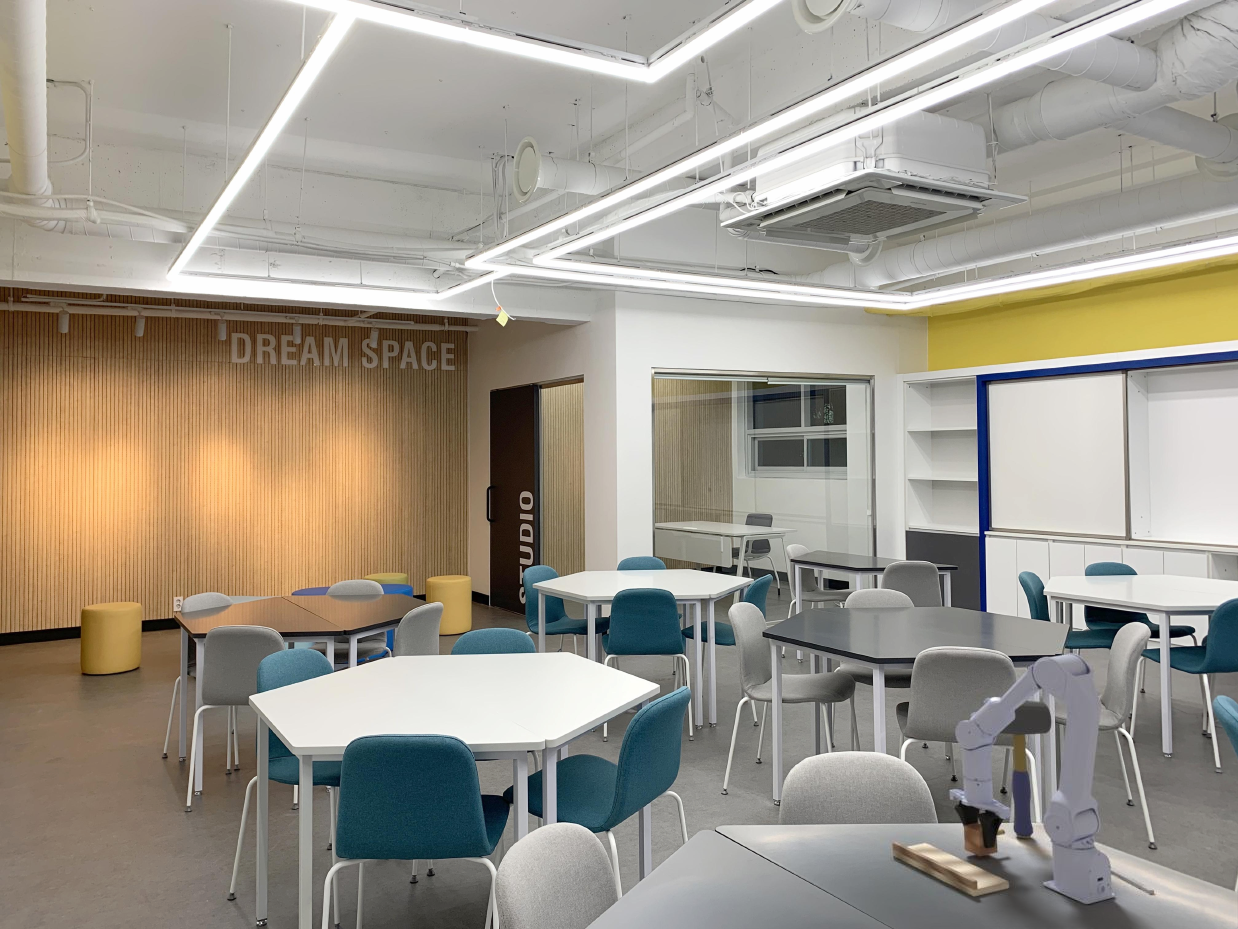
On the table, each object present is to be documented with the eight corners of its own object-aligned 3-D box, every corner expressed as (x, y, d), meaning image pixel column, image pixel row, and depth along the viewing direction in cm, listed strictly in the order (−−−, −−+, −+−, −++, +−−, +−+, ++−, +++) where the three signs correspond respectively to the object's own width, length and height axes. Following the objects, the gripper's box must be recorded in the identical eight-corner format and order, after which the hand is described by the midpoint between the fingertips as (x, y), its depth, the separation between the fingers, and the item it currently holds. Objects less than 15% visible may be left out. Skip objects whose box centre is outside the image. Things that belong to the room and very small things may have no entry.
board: (1009, 888, 163) (1008, 873, 163) (973, 896, 160) (973, 881, 160) (925, 848, 183) (925, 835, 183) (892, 855, 180) (892, 842, 180)
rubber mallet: (1001, 842, 186) (994, 703, 188) (988, 830, 194) (983, 697, 196) (1059, 843, 185) (1053, 704, 187) (1045, 831, 193) (1039, 697, 195)
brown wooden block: (1011, 849, 180) (1010, 825, 180) (979, 856, 176) (978, 831, 176) (996, 843, 183) (995, 819, 184) (964, 849, 180) (963, 825, 180)
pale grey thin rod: (1100, 869, 172) (1100, 864, 172) (1105, 869, 172) (1105, 864, 172) (1149, 895, 160) (1148, 890, 160) (1154, 895, 160) (1154, 890, 160)
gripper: (937, 771, 185) (940, 835, 184) (990, 789, 172) (994, 858, 171) (962, 767, 188) (965, 830, 187) (1016, 784, 175) (1019, 852, 174)
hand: (980, 843), depth 179 cm, fingers closed on brown wooden block, 4 cm apart
